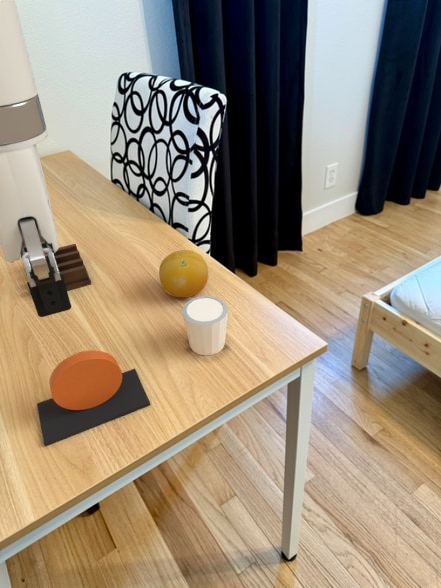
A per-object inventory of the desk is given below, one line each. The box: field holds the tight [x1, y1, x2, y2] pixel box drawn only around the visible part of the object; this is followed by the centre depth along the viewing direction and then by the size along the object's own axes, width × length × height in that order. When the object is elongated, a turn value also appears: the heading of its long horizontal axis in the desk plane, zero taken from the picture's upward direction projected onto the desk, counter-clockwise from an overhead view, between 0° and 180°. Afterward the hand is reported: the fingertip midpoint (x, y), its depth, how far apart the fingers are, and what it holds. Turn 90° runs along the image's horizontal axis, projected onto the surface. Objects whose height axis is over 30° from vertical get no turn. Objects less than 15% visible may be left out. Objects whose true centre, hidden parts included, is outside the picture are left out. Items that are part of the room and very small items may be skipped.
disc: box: [48, 350, 123, 410], centre depth 56 cm, size 9×2×9 cm, turn 116°
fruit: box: [158, 249, 209, 298], centre depth 76 cm, size 9×8×8 cm
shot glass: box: [182, 295, 229, 356], centre depth 66 cm, size 7×7×7 cm
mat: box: [36, 368, 151, 447], centre depth 59 cm, size 14×7×1 cm, turn 116°
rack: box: [31, 243, 92, 292], centre depth 83 cm, size 10×11×4 cm
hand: (48, 285), depth 46 cm, fingers open, 9 cm apart
